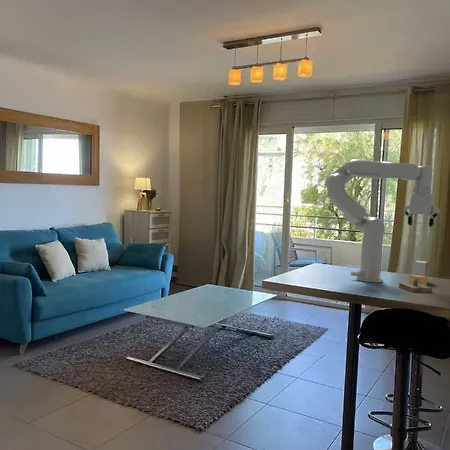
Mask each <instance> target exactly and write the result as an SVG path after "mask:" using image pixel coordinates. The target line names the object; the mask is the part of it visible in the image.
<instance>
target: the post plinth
mask: <svg viewBox="0 0 450 450" xmlns="http://www.w3.org/2000/svg"><path fill="white" fill-rule="evenodd" d="M398 285H399V286H398V288H400V289H402V290H405V291H407V292H410V293H433V292H432V291H433V288H432V287H430V286H427V285H426V286H424V285H421V284H418V279H414V282H413V284H409V282H408V283H406V282H404V283H403V282H400V283H399V284H398Z"/></svg>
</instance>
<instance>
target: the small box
mask: <svg viewBox="0 0 450 450" xmlns="http://www.w3.org/2000/svg"><path fill="white" fill-rule="evenodd" d="M428 267H429V261H427V260H426V261H423V260H416V261H414V262H413V274H412V275H421V276H425V277H427V278H428V269H429V268H428Z"/></svg>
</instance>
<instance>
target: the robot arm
mask: <svg viewBox="0 0 450 450" xmlns="http://www.w3.org/2000/svg"><path fill="white" fill-rule="evenodd" d="M432 167H433V166H430V165H417V164H414V163H407V162H394V161H393V162H392V161H391V162H390V161H380V160H379V161H377V160H364V159H356V158H355V159H351V160H347V162H345V163H344V164H343V165H342V166H340V167H339V168H338V169H336V170H335V171H333V172H332V173H330V174H329V175H328V176H327V177H326V179H325V182H324V184H325V188H326V189H327V194H328V198H329V201H330V202H331V204H332V205H333V206H335V207H336V208H337V209H338V210H339V211H340V212H341V213H342V214H343V216H344V219H346V221H347V222H349V223H350V224H351V226H353V227H354V228H356V230H358V231H359V232H361V233H362V234H363V237H362V240H361V241H362V242H361V243H362V244H361V255H360V268H359V270H357V271H351V272H350V276H352V277H354V276H355V277H356V280H358V281H360V282H366V283H382V282H383V281H384V279H383V278H381V277H380V276H381V265H382V264H381V263H382V253H383V241H384V235H385V230H386V229H385V224H384V222H383V220H381V219H380V218H378V217H375V216H372V215H370V214H369V213H368V212H367V210H366V208H365V206H363V205H362V204H360V203H359V202H358V201H356V200H355V199H354V198H353V197H352V196H351V195H350V194H348V192H346V188H345V187H346V184H347V183H348V182H350V181H351V180H352V179H354V178H355V177H356V178H365V179H366V178H367V179H375V180H377V179H378V180H379V179H380V180H382V179H401V180H402V181H414V187H413V188H411V192H413V193H412V195H411V198H410V201H409V205H407V206H406V207H403V208H402V209H403V212H404V214H405V215H406V217H407V225H408V226H412V225H413V216H414V215H415V214H416V215H427V216H429V219H428V221H429V222H428V227H430V228H432V227H433V226H434V221H435V218H436V217H437V216H438V215H439V214H440V212H441V209H439V208H438V207H436V206H434V199H433V194H432V181H433V168H432ZM434 211H435V213H434V214H433V212H434Z"/></svg>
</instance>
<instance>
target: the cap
mask: <svg viewBox="0 0 450 450" xmlns="http://www.w3.org/2000/svg"><path fill="white" fill-rule="evenodd" d="M408 277H409V278H408V284H413V282H414V279H418V284H421V285H424V286H427V282H428V281H427V280H428V276H427V277H425V276H421V275H413V274H409V276H408Z"/></svg>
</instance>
